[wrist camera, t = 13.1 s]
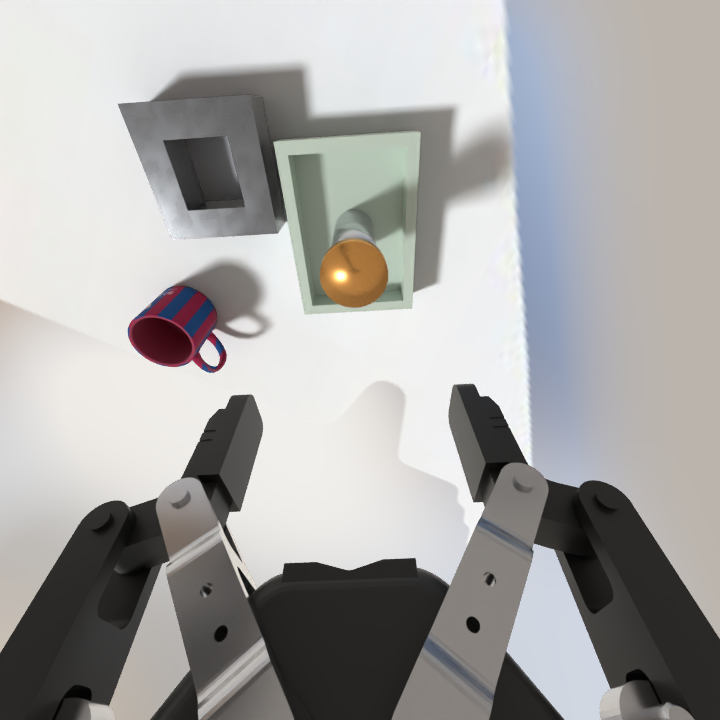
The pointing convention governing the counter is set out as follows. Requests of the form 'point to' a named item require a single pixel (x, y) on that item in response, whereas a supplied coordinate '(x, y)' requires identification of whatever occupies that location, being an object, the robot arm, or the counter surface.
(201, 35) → the counter surface
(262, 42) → the counter surface
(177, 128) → the block
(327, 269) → the pin
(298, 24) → the counter surface
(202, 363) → the mug
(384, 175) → the tray
